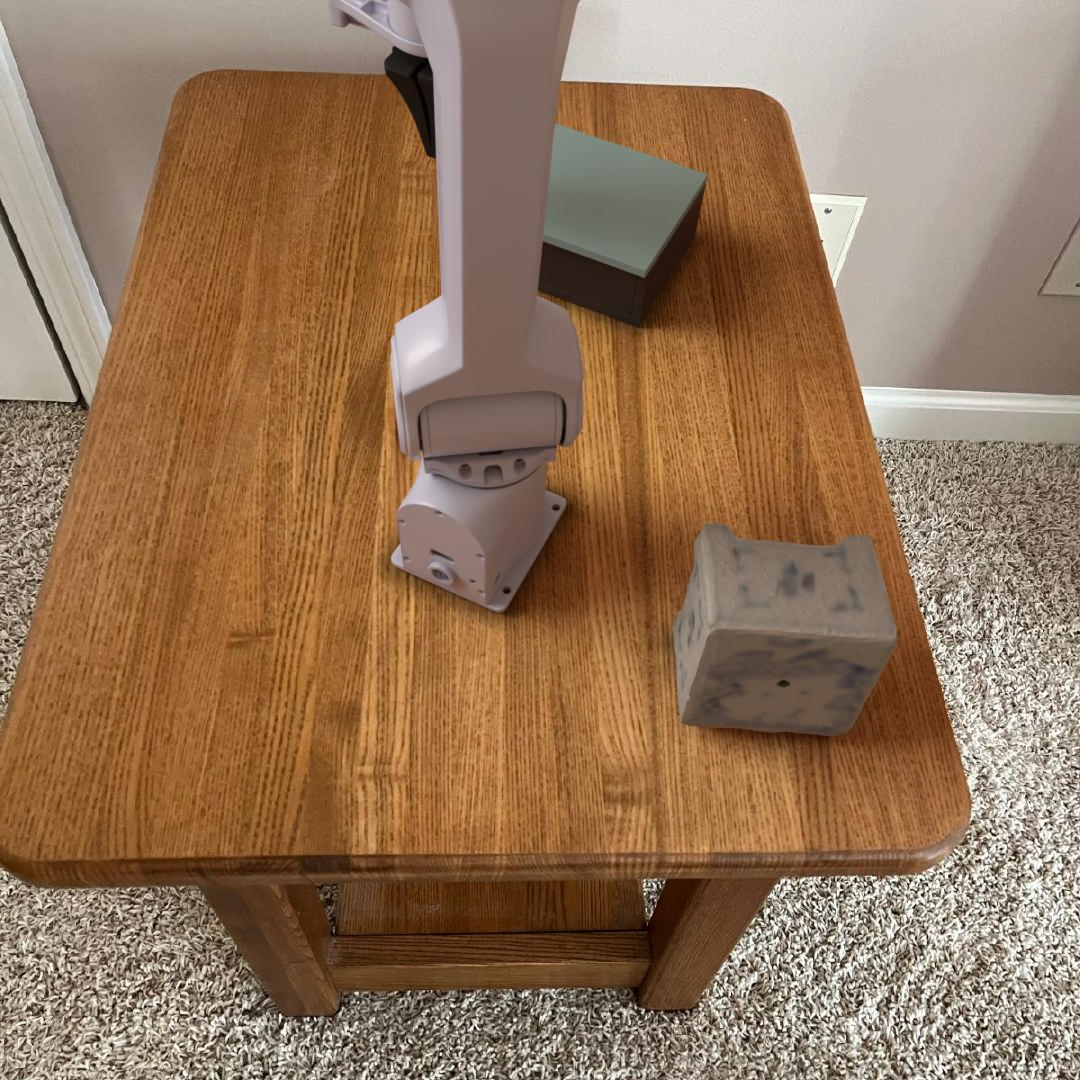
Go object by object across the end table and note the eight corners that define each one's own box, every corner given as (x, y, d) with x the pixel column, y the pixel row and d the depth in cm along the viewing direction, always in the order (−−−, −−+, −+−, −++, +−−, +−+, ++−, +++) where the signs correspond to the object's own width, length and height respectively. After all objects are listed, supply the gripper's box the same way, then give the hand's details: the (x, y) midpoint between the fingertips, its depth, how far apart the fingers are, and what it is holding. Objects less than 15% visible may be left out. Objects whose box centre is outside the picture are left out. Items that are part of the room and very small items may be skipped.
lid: (644, 278, 69) (646, 270, 68) (473, 216, 71) (473, 208, 71) (706, 182, 75) (708, 174, 74) (547, 128, 78) (547, 120, 77)
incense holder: (828, 618, 61) (885, 523, 52) (844, 745, 56) (909, 665, 47) (670, 607, 60) (700, 510, 52) (672, 734, 56) (706, 651, 47)
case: (639, 328, 74) (648, 273, 69) (479, 268, 76) (478, 212, 72) (694, 238, 80) (706, 182, 75) (544, 185, 82) (547, 129, 78)
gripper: (575, -55, 57) (561, 151, 68) (360, -117, 60) (381, 90, 71) (520, 1, 53) (515, 209, 65) (295, -68, 56) (327, 142, 68)
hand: (441, 150), depth 68 cm, fingers closed
